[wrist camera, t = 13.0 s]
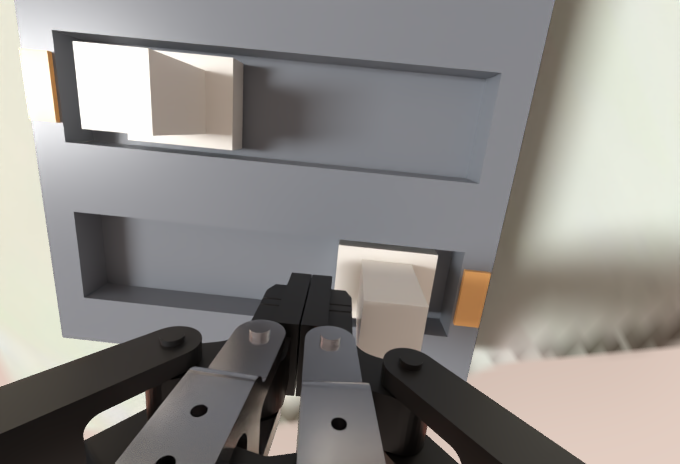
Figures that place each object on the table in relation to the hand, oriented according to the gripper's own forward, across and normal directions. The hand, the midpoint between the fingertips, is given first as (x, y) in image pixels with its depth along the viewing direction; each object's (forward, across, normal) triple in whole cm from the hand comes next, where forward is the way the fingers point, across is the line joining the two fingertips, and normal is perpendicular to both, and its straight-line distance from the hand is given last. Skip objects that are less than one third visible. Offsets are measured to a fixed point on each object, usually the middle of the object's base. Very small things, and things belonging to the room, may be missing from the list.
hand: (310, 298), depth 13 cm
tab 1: (+3, +5, -6) cm, 9 cm away
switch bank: (+5, +2, -6) cm, 8 cm away
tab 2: (+3, -3, 0) cm, 4 cm away
